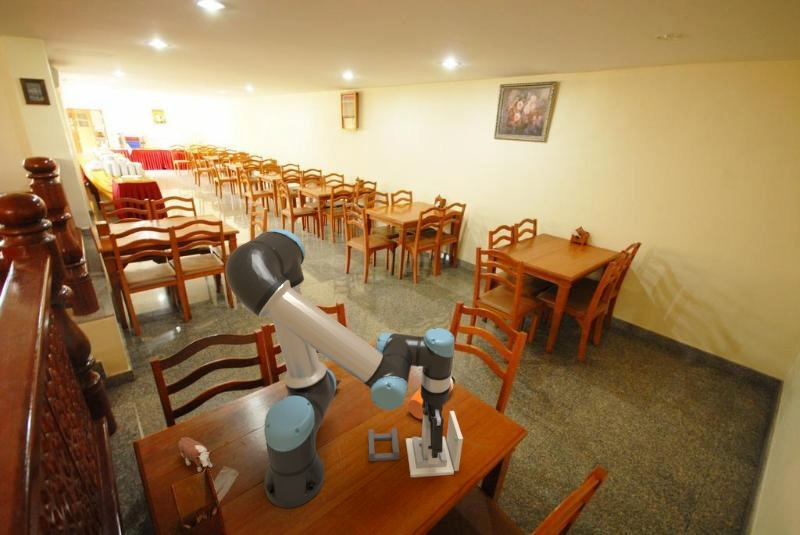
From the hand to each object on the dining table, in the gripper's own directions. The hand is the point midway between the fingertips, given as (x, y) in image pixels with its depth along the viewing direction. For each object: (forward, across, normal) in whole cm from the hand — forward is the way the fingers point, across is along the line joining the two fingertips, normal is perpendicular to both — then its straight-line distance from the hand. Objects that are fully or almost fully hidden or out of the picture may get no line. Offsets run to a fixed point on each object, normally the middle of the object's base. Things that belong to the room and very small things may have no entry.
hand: (429, 447), depth 101 cm
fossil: (+4, +27, +33) cm, 43 cm away
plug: (+3, 0, 0) cm, 3 cm away
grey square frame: (+4, +4, +13) cm, 14 cm away
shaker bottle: (-1, +14, +2) cm, 14 cm away
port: (+4, 0, 0) cm, 4 cm away
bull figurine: (+4, +2, +64) cm, 64 cm away
